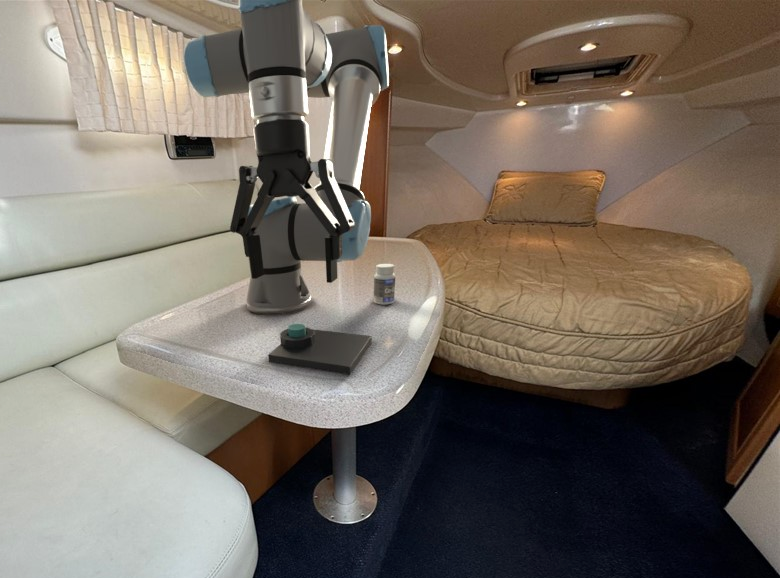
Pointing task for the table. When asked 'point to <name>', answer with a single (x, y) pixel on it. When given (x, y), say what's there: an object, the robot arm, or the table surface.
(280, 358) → the dark grey base board
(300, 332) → the power button
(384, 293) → the pill bottle
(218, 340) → the table surface
